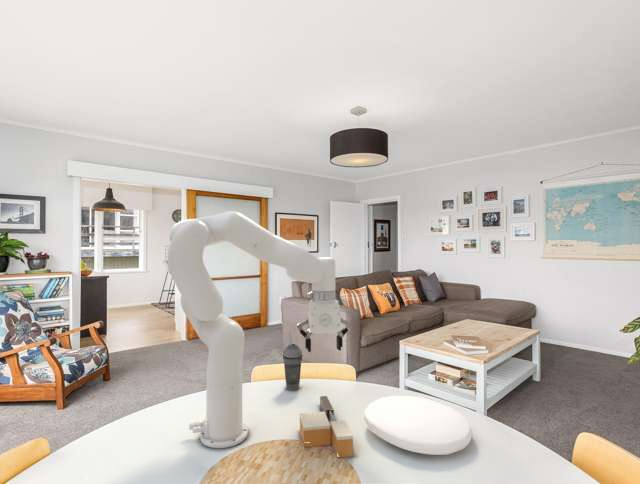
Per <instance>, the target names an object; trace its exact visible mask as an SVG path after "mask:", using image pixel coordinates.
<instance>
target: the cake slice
mask: <svg viewBox="0 0 640 484" xmlns="http://www.w3.org/2000/svg"><path fill="white" fill-rule="evenodd" d="M329 423H330V425H331V446H332V449H333V451H334V453H335V455H336V454H337V453H338V455H339V456H341V458H349V457H350V458H351V457H354V435H353V434H352V432H351V429H350V428H349V426H348V423H347V422H346V420H335V421H332V422H330V421H329Z"/></svg>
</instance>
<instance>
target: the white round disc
mask: <svg viewBox="0 0 640 484" xmlns="http://www.w3.org/2000/svg"><path fill="white" fill-rule="evenodd" d="M363 420H364V423H365V425H366V427H367V428H368V430H369V431H370V432H371V433H373V434H374V435H375V436H377V437H379V438H380V439H382V440H383V441H385V442H387V443H389V444H391V445H393V446H395V447H397V448H399V449H403V450H405V451H409V452H413V453H417V454H423V455H431V456H432V455H433V456H442V455H444V456H446V455H448V456H449V455H451V454H454V453H456V452H459V451H462V450H463V449H465V448H466V447H467V446H469V444H470V442H471V440H472V435H473V432H472V428H471V425H470V422H469V421H468V420H467V418H466V417H465V416H464V414H462V413H461V412H460V411H457V410H455V409H454V408H452V407H450V406H448V405H446V404H444V403H440V402H438V401H434V400H431V399H427V398H423V397H417V396H412V395H411V396H410V395H390V396H384V397H380V398H378V399H375V400H374V401H372V402H370V404H368V405H367V406H366V407H365V409H364V410H363Z"/></svg>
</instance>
